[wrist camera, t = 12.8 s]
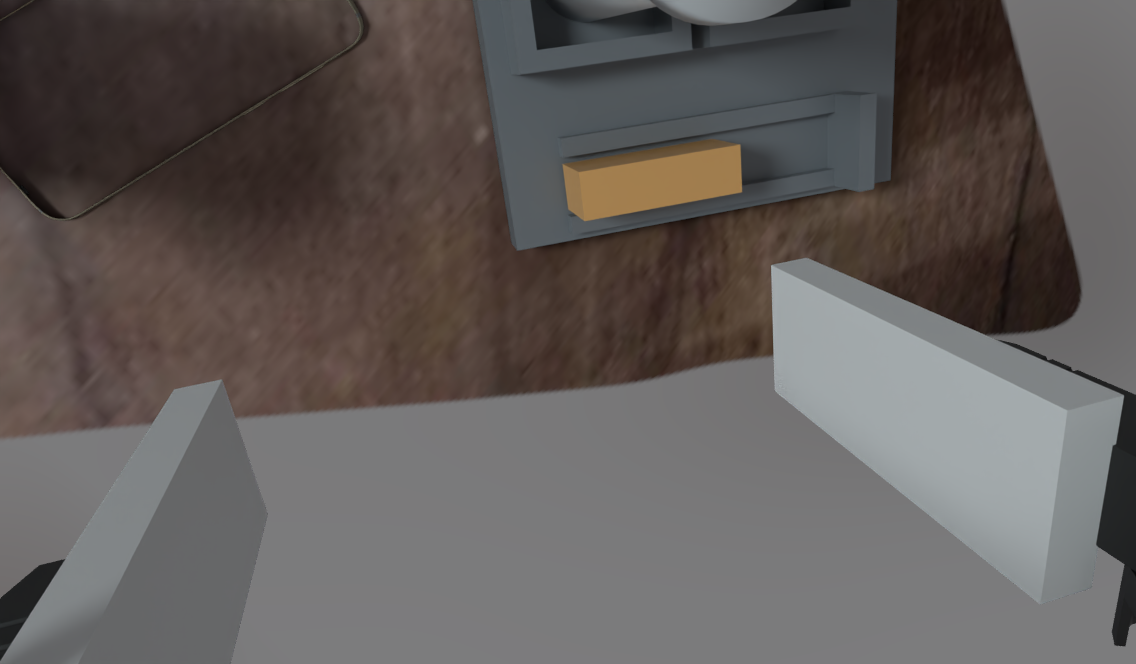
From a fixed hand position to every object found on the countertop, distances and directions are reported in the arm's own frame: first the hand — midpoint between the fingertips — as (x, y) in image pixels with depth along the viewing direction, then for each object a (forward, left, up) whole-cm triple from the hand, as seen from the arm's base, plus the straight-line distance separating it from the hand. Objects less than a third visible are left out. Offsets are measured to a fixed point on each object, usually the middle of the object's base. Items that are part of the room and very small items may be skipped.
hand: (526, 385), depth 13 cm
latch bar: (0, +9, -19) cm, 21 cm away
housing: (-6, +12, -21) cm, 25 cm away
